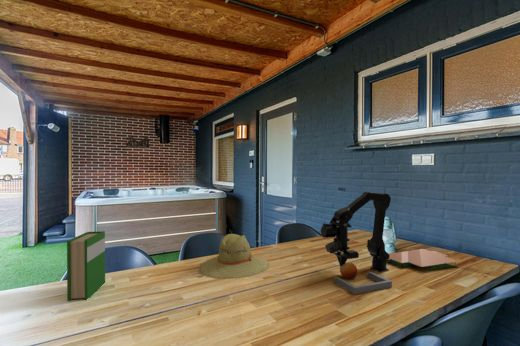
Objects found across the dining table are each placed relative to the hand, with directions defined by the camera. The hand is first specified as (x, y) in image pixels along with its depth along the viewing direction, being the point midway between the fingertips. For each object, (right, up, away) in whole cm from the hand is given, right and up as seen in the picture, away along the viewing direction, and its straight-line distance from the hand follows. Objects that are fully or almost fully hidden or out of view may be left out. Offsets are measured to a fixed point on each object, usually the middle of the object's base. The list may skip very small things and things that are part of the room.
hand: (341, 267), depth 141 cm
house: (+48, -3, +16) cm, 51 cm away
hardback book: (-115, -4, -19) cm, 116 cm away
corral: (+5, -3, -13) cm, 14 cm away
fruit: (+2, -3, -5) cm, 6 cm away
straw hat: (-54, -4, +13) cm, 56 cm away
